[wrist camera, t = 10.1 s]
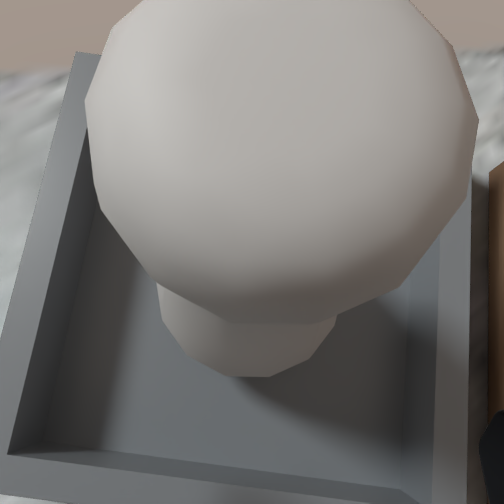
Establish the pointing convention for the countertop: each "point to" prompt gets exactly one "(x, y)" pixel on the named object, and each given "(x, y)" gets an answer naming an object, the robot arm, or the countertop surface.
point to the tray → (218, 375)
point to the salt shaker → (276, 163)
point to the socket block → (496, 293)
